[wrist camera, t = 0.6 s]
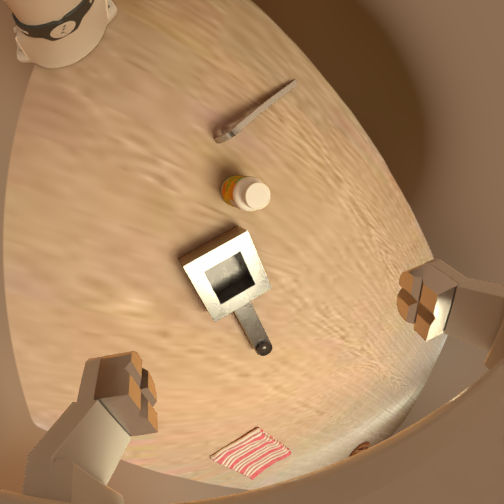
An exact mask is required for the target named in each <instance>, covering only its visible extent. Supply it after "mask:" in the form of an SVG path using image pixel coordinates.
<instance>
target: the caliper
mask: <svg viewBox="0 0 504 504" xmlns="http://www.w3.org/2000/svg"><path fill="white" fill-rule="evenodd" d="M297 84H298V83H297V81H296V80H294V81H292V82H291V83H289V84H288V85H286V86H285V87H283V88H282V89H281V90H279V91H278V92H276V93H275V94H274V95H272V96H271V97H270V98H268V99H267V100H266V101H264V102H263V103H262V104H261V105H259V106H258V107H257V108H255V109H254V110H253V111H252V112H250V113H249V114H247V115H246V116H244V117H243V118H242V119H241V120H239V121H238V122H237V123H236V124H235V125H233V126H232V127H230V128H228V129H227V130H225V131H224V132H222V135H220V136H218V137H216V138H215V140H216V142H217V143H222V142H225V141H227V140H229V139H230V138H231V137H233V136H235V135H236V134H237V133H238V132H240V131H241V129H242V128H243V127H245V126H246V125H247V124H248V123H249V122H251V121H252V120H253V119H254V118H256V117H257V115H259V114H260V113H261V112H262V111H264V110H265V109H266V108H267V107H269V106H270V105H271V104H273V103H274V102H275V101H276V100H278V99H279V98H280V97H282V96H283V95H284V94H286V93H287V92H288V91H290V90H291V89H292V88H294V87H295V86H296V85H297Z"/></svg>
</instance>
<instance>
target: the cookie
mask: <svg viewBox="0 0 504 504" xmlns="http://www.w3.org/2000/svg"><path fill="white" fill-rule="evenodd" d="M369 446H370V443H368V442H364V443H362V444H360V445H359V446H358V447H357V448H356V449H354V451H352V453H351V454H350V457H351V456H353V455H355V454H358V453H360V452H362V451H364V450H366V449H368V447H369Z"/></svg>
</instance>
